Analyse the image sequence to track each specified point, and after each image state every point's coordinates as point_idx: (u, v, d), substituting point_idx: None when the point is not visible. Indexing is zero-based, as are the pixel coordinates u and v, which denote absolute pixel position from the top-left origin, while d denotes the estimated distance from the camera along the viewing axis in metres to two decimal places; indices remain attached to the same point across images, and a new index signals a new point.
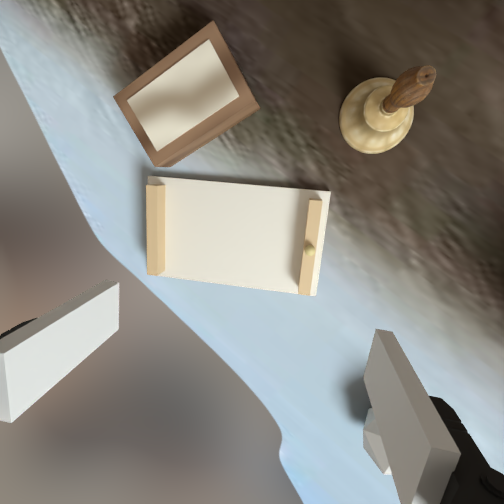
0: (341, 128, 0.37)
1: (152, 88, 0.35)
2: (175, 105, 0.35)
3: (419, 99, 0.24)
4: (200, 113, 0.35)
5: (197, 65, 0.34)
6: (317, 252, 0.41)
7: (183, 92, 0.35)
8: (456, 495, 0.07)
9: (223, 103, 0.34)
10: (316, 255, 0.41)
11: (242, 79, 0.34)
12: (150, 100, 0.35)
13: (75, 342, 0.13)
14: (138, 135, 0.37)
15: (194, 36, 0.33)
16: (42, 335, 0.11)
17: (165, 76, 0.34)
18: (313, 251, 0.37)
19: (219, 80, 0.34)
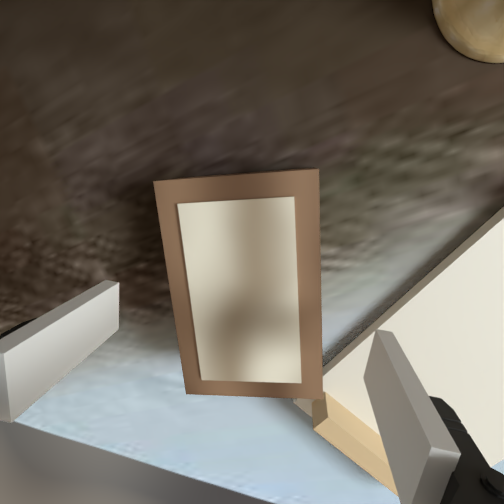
0: (481, 56, 0.17)
1: (204, 334, 0.19)
2: (248, 313, 0.18)
3: None
4: (285, 280, 0.18)
5: (206, 244, 0.18)
6: None
7: (235, 290, 0.18)
8: (456, 495, 0.07)
9: (290, 231, 0.17)
10: None
11: (269, 176, 0.16)
12: (220, 347, 0.19)
13: (75, 342, 0.13)
14: (259, 394, 0.20)
15: (162, 225, 0.18)
16: (42, 335, 0.11)
17: (197, 304, 0.19)
18: None
19: (248, 218, 0.17)
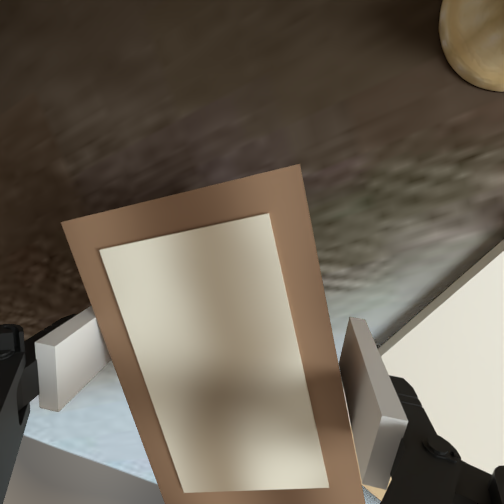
0: (489, 85, 0.18)
1: (175, 429, 0.13)
2: (232, 395, 0.12)
3: None
4: (278, 341, 0.11)
5: (152, 303, 0.12)
6: None
7: (207, 363, 0.12)
8: (402, 460, 0.08)
9: (273, 268, 0.11)
10: None
11: (225, 187, 0.10)
12: (200, 446, 0.13)
13: None
14: None
15: (86, 284, 0.12)
16: (84, 330, 0.12)
17: (157, 389, 0.13)
18: None
19: (206, 256, 0.11)
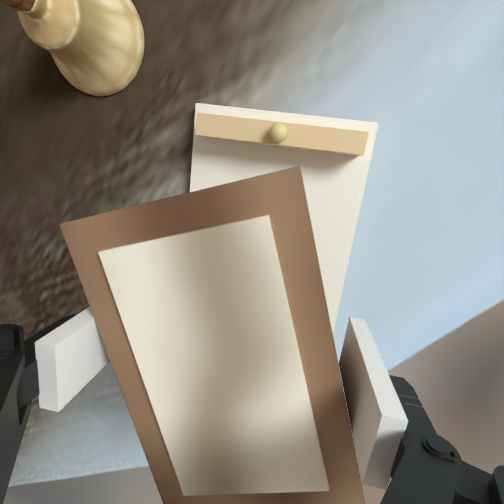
0: (111, 91, 0.26)
1: (174, 432, 0.13)
2: (232, 398, 0.12)
3: None
4: (278, 344, 0.11)
5: (151, 306, 0.12)
6: (294, 122, 0.24)
7: (207, 366, 0.12)
8: (402, 460, 0.08)
9: (273, 270, 0.11)
10: (299, 123, 0.24)
11: (224, 189, 0.10)
12: (200, 449, 0.13)
13: None
14: None
15: (85, 286, 0.12)
16: (84, 330, 0.12)
17: (156, 392, 0.13)
18: (278, 125, 0.21)
19: (206, 259, 0.11)
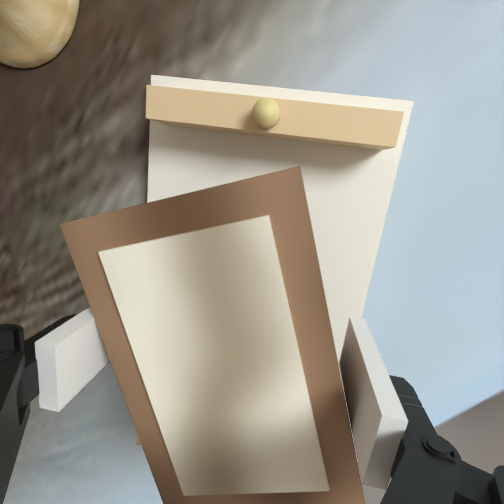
0: (37, 60, 0.19)
1: (174, 432, 0.13)
2: (232, 398, 0.12)
3: None
4: (278, 344, 0.11)
5: (151, 306, 0.12)
6: None
7: (207, 366, 0.12)
8: (402, 460, 0.08)
9: (273, 270, 0.11)
10: None
11: (225, 189, 0.10)
12: (200, 449, 0.13)
13: None
14: None
15: (85, 286, 0.12)
16: (85, 330, 0.12)
17: (156, 392, 0.13)
18: (266, 102, 0.14)
19: (206, 258, 0.11)
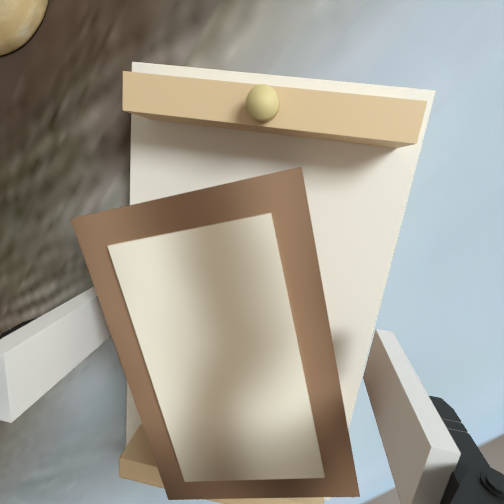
0: (6, 47, 0.16)
1: (177, 420, 0.14)
2: (233, 387, 0.13)
3: None
4: (278, 336, 0.12)
5: (157, 298, 0.12)
6: None
7: (209, 357, 0.13)
8: (456, 495, 0.07)
9: (274, 265, 0.11)
10: None
11: (229, 187, 0.11)
12: (201, 436, 0.14)
13: (75, 342, 0.13)
14: (267, 494, 0.14)
15: (94, 278, 0.13)
16: (42, 335, 0.11)
17: (160, 381, 0.13)
18: (262, 89, 0.11)
19: (210, 253, 0.12)
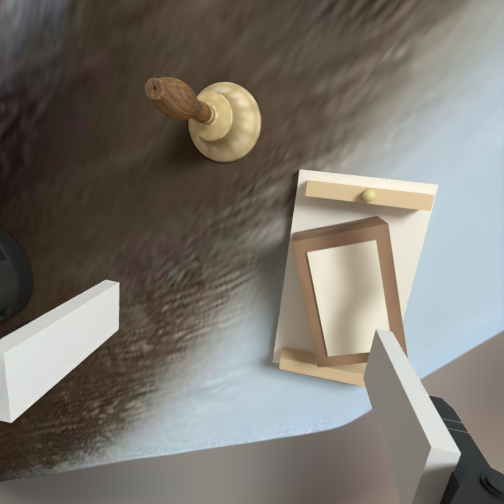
0: (234, 159, 0.35)
1: (328, 326, 0.32)
2: (355, 310, 0.31)
3: (183, 90, 0.21)
4: (375, 287, 0.30)
5: (325, 273, 0.30)
6: (374, 183, 0.32)
7: (345, 297, 0.31)
8: (456, 495, 0.07)
9: (376, 259, 0.29)
10: (378, 184, 0.32)
11: (359, 230, 0.29)
12: (338, 333, 0.32)
13: (75, 342, 0.13)
14: (365, 360, 0.32)
15: (297, 265, 0.31)
16: (42, 335, 0.11)
17: (322, 309, 0.31)
18: (369, 191, 0.30)
19: (349, 255, 0.30)
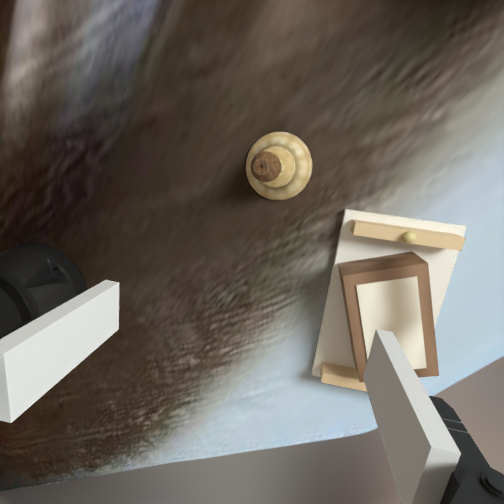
0: (286, 198, 0.40)
1: None
2: (395, 334, 0.36)
3: (277, 163, 0.26)
4: (414, 316, 0.35)
5: (371, 303, 0.35)
6: (411, 223, 0.38)
7: (388, 323, 0.36)
8: (456, 495, 0.07)
9: (416, 292, 0.34)
10: (414, 225, 0.38)
11: (403, 268, 0.34)
12: None
13: (75, 342, 0.13)
14: None
15: (347, 296, 0.36)
16: (42, 335, 0.11)
17: (367, 333, 0.36)
18: (411, 234, 0.35)
19: (393, 288, 0.35)
